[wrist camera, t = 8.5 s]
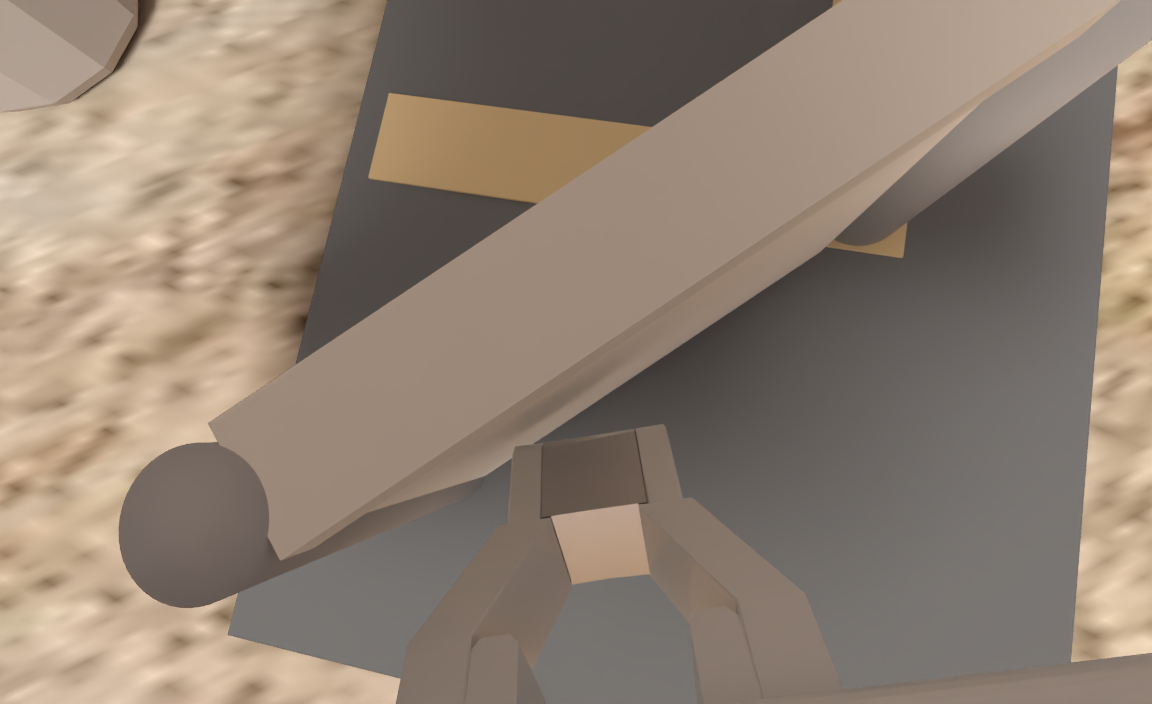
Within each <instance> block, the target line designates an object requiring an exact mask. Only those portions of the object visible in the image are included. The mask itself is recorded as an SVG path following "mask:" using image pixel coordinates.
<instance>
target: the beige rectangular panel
mask: <svg viewBox="0 0 1152 704" xmlns="http://www.w3.org/2000/svg"><path fill="white" fill-rule="evenodd" d="M1120 1H1121V0H842V1H841V2H839V3H838V4H836V5H835V6H833V7H832V8H830V9H829V10H827V11H826V12H824V13H823V14H821V15H820V16H818V17H817V18H815V19H814V20H812V21H811V22H809V23H808V24H806V25H805V26H803V27H802V28H800V29H799V30H797V31H796V32H794V33H793V34H791V35H790V36H788V37H787V38H785V39H784V40H782V41H781V42H779V43H778V44H776V45H775V46H773V47H772V48H770V49H769V50H767V51H766V52H764V53H763V54H761V55H760V56H758V57H757V58H755V59H754V60H752V61H751V62H749V63H748V64H746V65H745V66H743V67H742V68H740V69H739V70H737V71H736V72H734V73H733V74H731V75H730V76H728V77H727V78H725V79H724V80H722V81H721V82H719V83H718V84H716V85H715V86H713V87H712V88H710V89H709V90H707V91H706V92H704V93H703V94H701V95H700V96H698V97H697V98H695V99H694V100H692V101H691V102H689V103H688V104H686V105H685V106H683V107H682V108H680V109H679V110H677V111H676V112H674V113H673V114H671V115H670V116H668V117H667V118H665V119H664V120H662V121H661V122H659V123H658V124H656V125H655V126H653V127H652V128H650V129H649V130H647V131H646V132H644V133H643V134H641V135H640V136H638V137H637V138H635V139H634V140H632V141H631V142H629V143H628V144H626V145H625V146H623V147H622V148H620V149H619V150H617V151H616V152H614V153H613V154H611V155H610V156H608V157H607V158H605V159H604V160H602V161H601V162H599V163H598V164H596V165H595V166H593V167H592V168H590V169H589V170H587V171H586V172H584V173H583V174H581V175H580V176H578V177H577V178H575V179H574V180H572V181H571V182H569V183H568V184H566V185H565V186H563V187H562V188H560V189H559V190H557V191H556V192H554V193H553V194H551V195H550V196H548V197H547V198H545V199H544V200H542V201H541V202H539V203H538V204H536V205H535V206H533V207H532V208H530V209H529V210H527V211H526V212H524V213H523V214H521V215H520V216H518V217H517V218H515V219H514V220H512V221H511V222H509V223H508V224H506V225H505V226H503V227H502V228H500V229H499V230H497V231H496V232H494V233H493V234H491V235H490V236H488V237H487V238H485V239H484V240H482V241H481V242H479V243H478V244H476V245H475V246H473V247H472V248H470V249H469V250H467V251H466V252H464V253H463V254H461V255H460V256H458V257H457V258H455V259H454V260H452V261H451V262H449V263H448V264H446V265H445V266H443V267H442V268H440V269H439V270H437V271H436V272H434V273H433V274H431V275H430V276H428V277H427V278H425V279H424V280H422V281H421V282H419V283H418V284H416V285H415V286H413V287H412V288H410V289H409V290H407V291H406V292H404V293H403V294H401V295H400V296H398V297H397V298H395V299H394V300H392V301H391V302H389V303H388V304H386V305H385V306H383V307H382V308H380V309H379V310H377V311H376V312H374V313H373V314H371V315H370V316H368V317H367V318H365V319H364V320H362V321H361V322H359V323H358V324H356V325H355V326H353V327H352V328H350V329H349V330H347V331H346V332H344V333H343V334H341V335H340V336H338V337H337V338H335V339H334V340H332V341H331V342H329V343H328V344H326V345H325V346H323V347H322V348H320V349H319V350H317V351H316V352H314V353H313V354H311V355H310V356H308V357H307V358H305V359H304V360H302V361H300V362H299V363H297V364H296V365H294V366H293V367H291V368H290V369H288V370H287V371H285V372H284V373H282V374H281V375H279V376H278V377H276V378H275V379H273V380H272V381H270V382H269V383H267V384H266V385H264V386H263V387H261V388H260V389H258V390H257V391H255V392H254V393H252V394H251V395H249V396H248V397H246V398H245V399H243V400H242V401H240V402H239V403H237V404H236V405H234V406H233V407H231V408H230V409H228V410H227V411H225V412H224V413H222V414H221V415H219V416H218V417H216V418H215V419H213V420H212V421H210V422H209V423H208V424H209V426H210V428H211V430H212V432H213V434H214V436H215V438H216V440H217V441H218V442H212V443H192V444H185V445H182V446H178V447H175V448H173V449H171V450H168V451H166V452H165V453H163V454H161V455H160V456H158V457H157V458H155V459H154V460H153V461H151V462H150V463H149V464H148V465H147V466H146V467H145V468H144V469H143V470H142V471H141V473H140V474H139V475H138V476H137V478H136V479H135V481H134V482H133V484H132V485H131V487H130V489H129V491H128V493H127V495H126V498H125V501H124V503H123V506H122V510H121V515H120V521H119V543H120V550H121V554H122V558H123V561H124V563H125V566H126V568H127V570H128V572H129V574H130V575H131V577H132V579H133V580H134V581H135V582H136V584H137V585H138V586H139V587H140V588H141V589H142V590H143V591H144V592H145V593H146V594H148V595H149V596H151V597H152V598H154V599H155V600H157V601H159V602H161V603H164V604H167V605H170V606H174V607H180V608H194V607H201V606H205V605H209V604H212V603H214V602H217V601H219V600H222V599H224V598H226V597H229V596H231V595H234V594H236V593H238V592H241V591H243V590H246V589H248V588H251V587H253V586H255V585H258V584H260V583H263V582H265V581H267V580H270V579H272V578H275V577H277V576H280V575H282V574H284V573H287V572H289V571H292V570H294V569H296V568H299V567H301V566H304V565H306V564H308V563H311V562H313V561H316V560H318V559H321V558H323V557H325V556H328V555H330V554H333V553H335V552H337V551H340V550H342V549H345V548H347V547H349V546H352V545H354V544H357V543H359V542H362V541H364V540H366V539H369V538H371V537H374V536H376V535H378V534H381V533H383V532H386V531H388V530H391V529H393V528H395V527H398V526H400V525H403V524H405V523H407V522H410V521H412V520H415V519H417V518H419V517H422V516H424V515H427V514H429V513H432V512H434V511H436V510H439V509H441V508H444V507H446V506H448V505H451V504H453V503H456V502H458V501H461V500H463V499H465V498H468V497H470V496H471V495H473V494H474V493H475V492H476V491H477V490H478V489H479V488H480V487H481V485H482V483H483V481H484V479H485V476H486V475H487V474H489V473H490V472H492V471H493V470H495V469H496V468H498V467H499V466H501V465H502V464H504V463H505V462H507V461H508V460H510V459H511V458H512V453H513V451H514V448H515V446H523V445H531V444H534V443H535V442H537V441H538V440H540V439H541V438H543V437H544V436H546V435H547V434H549V433H550V432H552V431H553V430H555V429H556V428H558V427H559V426H561V425H562V424H564V423H565V422H567V421H568V420H570V419H571V418H573V417H574V416H576V415H577V414H579V413H580V412H582V411H583V410H585V409H586V408H588V407H589V406H591V405H592V404H594V403H595V402H597V401H598V400H600V399H601V398H603V397H604V396H606V395H607V394H609V393H610V392H612V391H613V390H615V389H616V388H618V387H619V386H621V385H622V384H624V383H625V382H627V381H628V380H630V379H631V378H633V377H634V376H636V375H637V374H639V373H640V372H641V371H643V370H644V369H646V368H647V367H649V366H650V365H652V364H653V363H655V362H656V361H658V360H659V359H661V358H662V357H664V356H665V355H667V354H668V353H670V352H671V351H673V350H674V349H676V348H677V347H679V346H680V345H682V344H683V343H685V342H686V341H688V340H689V339H691V338H692V337H694V336H695V335H697V334H698V333H700V332H701V331H703V330H704V329H706V328H707V327H709V326H710V325H712V324H713V323H715V322H716V321H718V320H719V319H721V318H722V317H724V316H725V315H727V314H728V313H730V312H731V311H733V310H734V309H736V308H737V307H739V306H740V305H742V304H743V303H745V302H746V301H748V300H749V299H751V298H752V297H754V296H755V295H757V294H758V293H760V292H761V291H763V290H764V289H766V288H767V287H769V286H770V285H772V284H773V283H775V282H776V281H778V280H779V279H781V278H782V277H784V276H785V275H787V274H788V273H790V272H791V271H793V270H794V269H796V268H797V267H799V266H800V265H802V264H803V263H805V262H806V261H808V260H809V259H811V258H812V257H814V256H815V255H817V254H818V253H820V252H821V251H822V250H823V249H824V248H825V247H826V246H827V245H828V244H829V243H830V242H832V241H833V240H834V239H835V238H836V237H837V236H838V235H839V234H840V233H841V232H842V231H843V230H844V229H846V228H847V227H848V226H849V225H850V224H851V223H852V222H853V221H854V220H855V219H856V218H857V217H858V216H860V215H861V214H862V213H863V212H864V211H865V210H866V209H867V208H868V207H869V206H870V205H871V204H872V203H874V202H875V201H876V200H877V199H878V198H879V197H880V196H881V195H882V194H883V193H884V192H885V191H886V190H888V189H889V188H890V187H891V186H892V185H893V184H894V183H895V182H896V181H897V180H898V179H899V178H901V177H902V176H903V175H904V174H905V173H906V172H907V171H908V170H909V169H910V168H911V167H912V166H913V165H915V164H916V163H917V162H918V161H919V160H920V159H921V158H922V157H923V156H924V155H925V154H926V153H927V152H929V151H930V150H931V149H932V148H933V147H934V146H935V145H936V144H937V143H938V142H939V141H940V140H941V139H943V138H944V137H945V136H946V135H947V134H948V133H949V132H950V131H951V130H952V129H953V128H954V127H955V126H957V125H958V124H959V123H960V122H961V121H962V120H963V119H964V118H965V117H966V116H967V115H968V114H969V113H971V112H972V111H973V110H974V109H975V108H976V107H977V106H978V105H979V104H980V103H981V102H982V101H984V100H985V99H987V98H988V97H990V96H991V95H993V94H994V93H996V92H997V91H999V90H1000V89H1002V88H1003V87H1005V86H1006V85H1008V84H1009V83H1011V82H1012V81H1014V80H1015V79H1017V78H1018V77H1020V76H1021V75H1023V74H1024V73H1026V72H1027V71H1029V70H1030V69H1032V68H1033V67H1035V66H1036V65H1038V64H1039V63H1041V62H1042V61H1044V60H1045V59H1047V58H1048V57H1050V56H1051V55H1053V54H1054V53H1056V52H1057V51H1059V50H1060V49H1062V48H1063V47H1065V46H1066V45H1068V44H1069V43H1071V42H1072V41H1074V40H1075V39H1077V38H1078V37H1080V36H1081V35H1082V34H1083V33H1084V32H1085V31H1086V30H1088V29H1089V28H1090V27H1091V26H1092V25H1093V24H1094V23H1096V22H1097V21H1098V20H1099V19H1100V18H1101V17H1102V16H1104V15H1105V14H1106V13H1107V12H1108V11H1109V10H1110V9H1112V8H1113V7H1114V6H1115V5H1116V4H1117V3H1118V2H1120Z"/></svg>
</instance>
